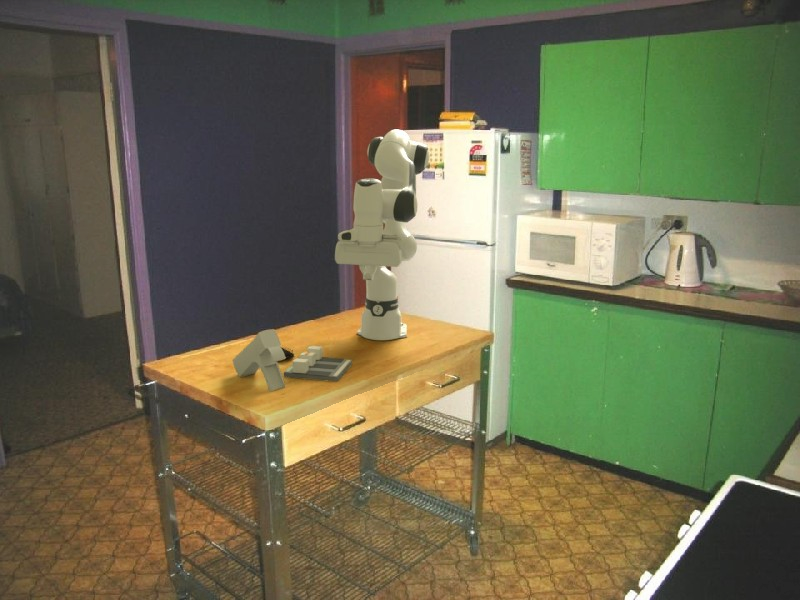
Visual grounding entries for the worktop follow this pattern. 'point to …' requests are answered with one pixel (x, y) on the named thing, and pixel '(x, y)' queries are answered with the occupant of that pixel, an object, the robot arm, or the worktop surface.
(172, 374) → the worktop surface
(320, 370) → the panel
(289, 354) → the hairbrush
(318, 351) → the block
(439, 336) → the worktop surface
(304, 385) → the worktop surface
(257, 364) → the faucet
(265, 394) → the worktop surface
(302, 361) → the block
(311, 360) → the breaker
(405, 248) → the robot arm
